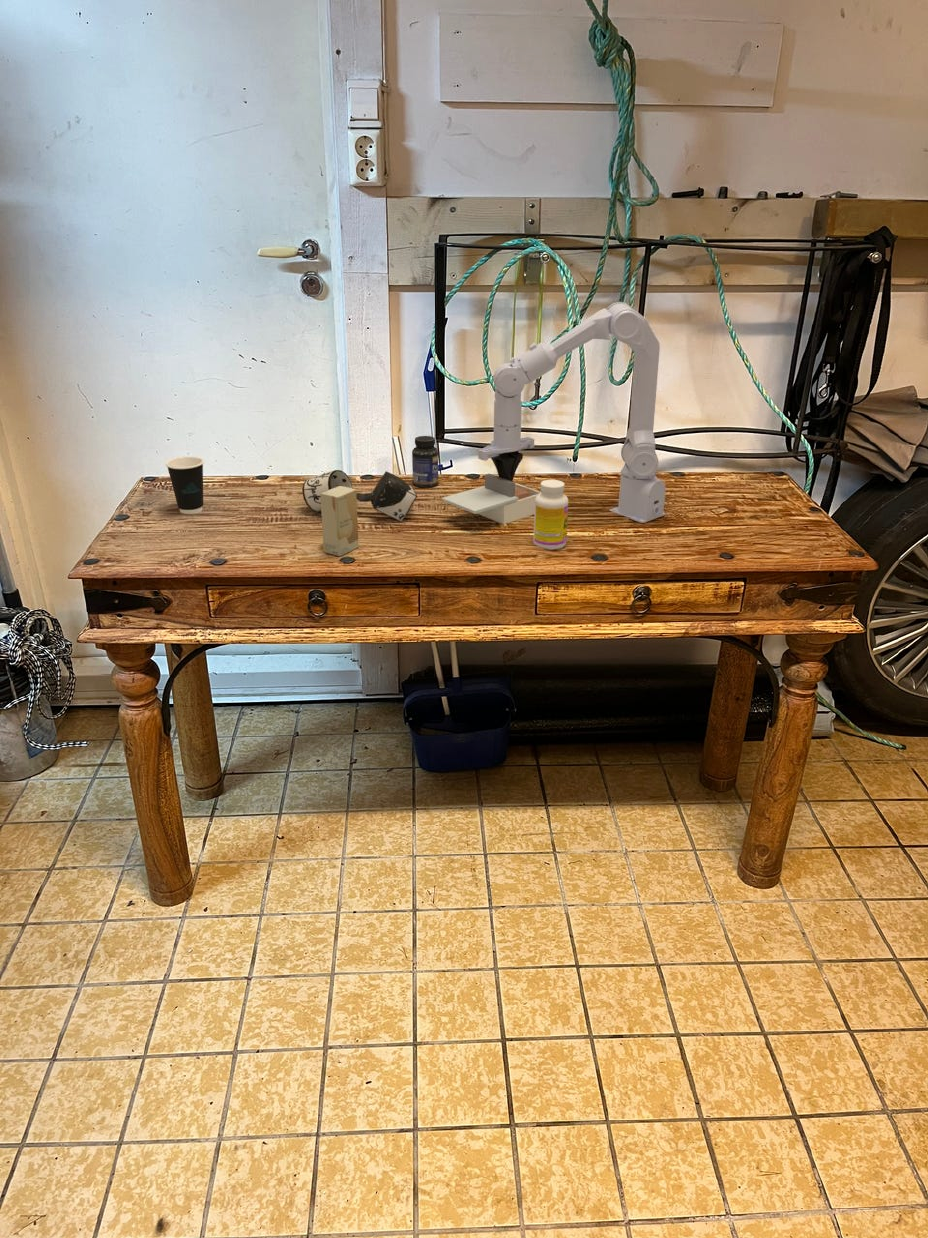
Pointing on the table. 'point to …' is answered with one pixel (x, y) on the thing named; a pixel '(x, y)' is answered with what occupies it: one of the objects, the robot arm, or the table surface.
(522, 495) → the terracotta block
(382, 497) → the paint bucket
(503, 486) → the lid
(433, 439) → the pill bottle
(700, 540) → the table surface
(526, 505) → the box
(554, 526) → the supplement bottle
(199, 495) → the dixie cup
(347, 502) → the skincare box
